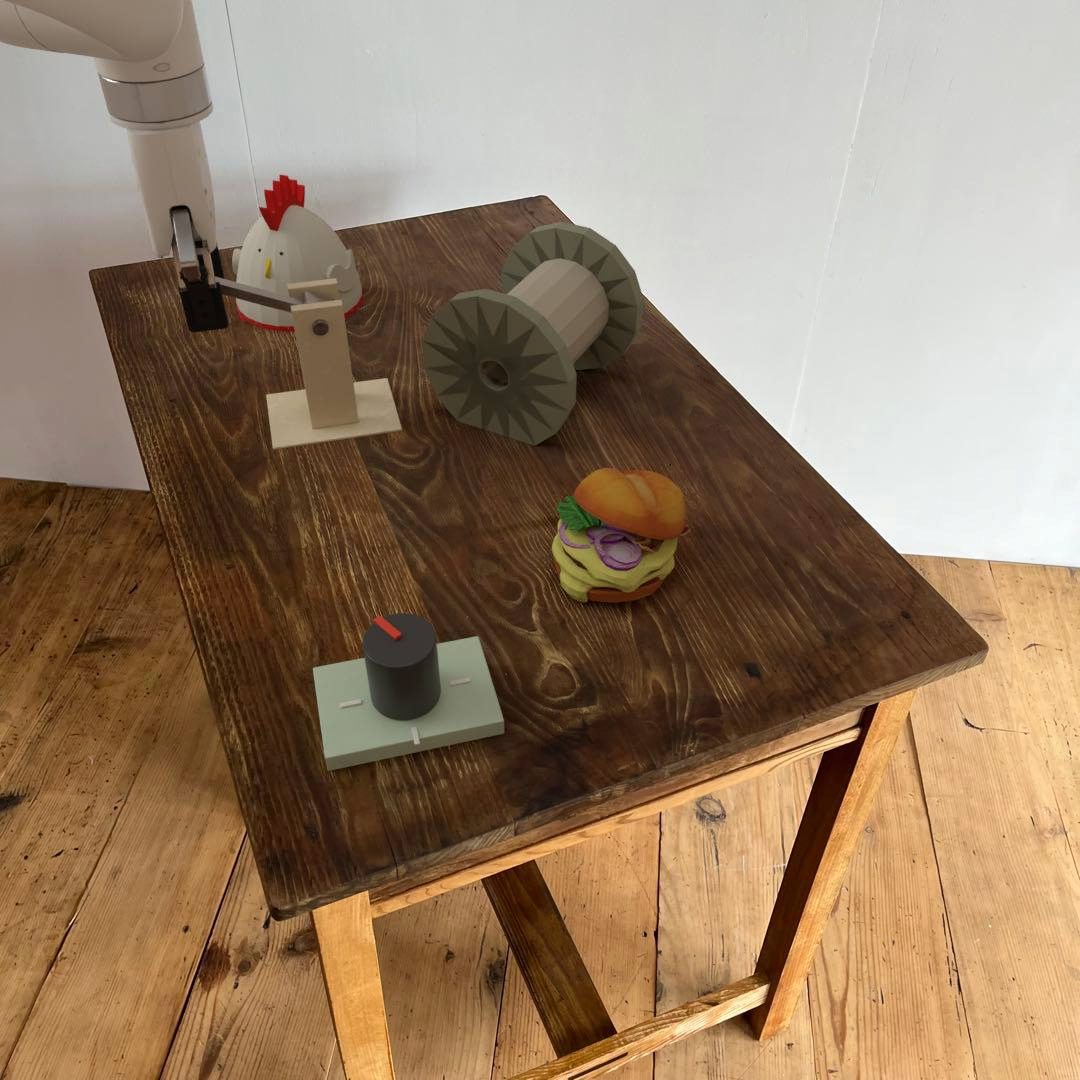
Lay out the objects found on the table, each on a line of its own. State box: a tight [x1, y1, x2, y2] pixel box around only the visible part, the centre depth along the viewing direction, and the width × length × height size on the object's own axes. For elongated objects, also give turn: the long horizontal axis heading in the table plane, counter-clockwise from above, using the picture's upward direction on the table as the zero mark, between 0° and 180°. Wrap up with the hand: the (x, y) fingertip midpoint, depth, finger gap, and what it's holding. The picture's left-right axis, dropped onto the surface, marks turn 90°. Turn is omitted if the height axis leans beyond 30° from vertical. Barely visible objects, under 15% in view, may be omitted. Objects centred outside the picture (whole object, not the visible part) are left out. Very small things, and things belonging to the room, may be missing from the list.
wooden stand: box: [265, 278, 403, 451], centre depth 94 cm, size 12×9×14 cm
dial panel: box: [312, 635, 505, 772], centre depth 71 cm, size 12×9×3 cm
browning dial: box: [361, 612, 441, 720], centre depth 68 cm, size 5×5×6 cm
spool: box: [421, 221, 645, 446], centre depth 97 cm, size 16×15×15 cm
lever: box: [198, 260, 335, 313], centre depth 88 cm, size 12×5×2 cm, turn 105°
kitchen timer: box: [231, 174, 364, 332], centre depth 110 cm, size 14×14×15 cm
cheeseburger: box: [551, 467, 691, 603], centre depth 81 cm, size 10×11×10 cm
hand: (207, 304), depth 87 cm, fingers open, 7 cm apart
